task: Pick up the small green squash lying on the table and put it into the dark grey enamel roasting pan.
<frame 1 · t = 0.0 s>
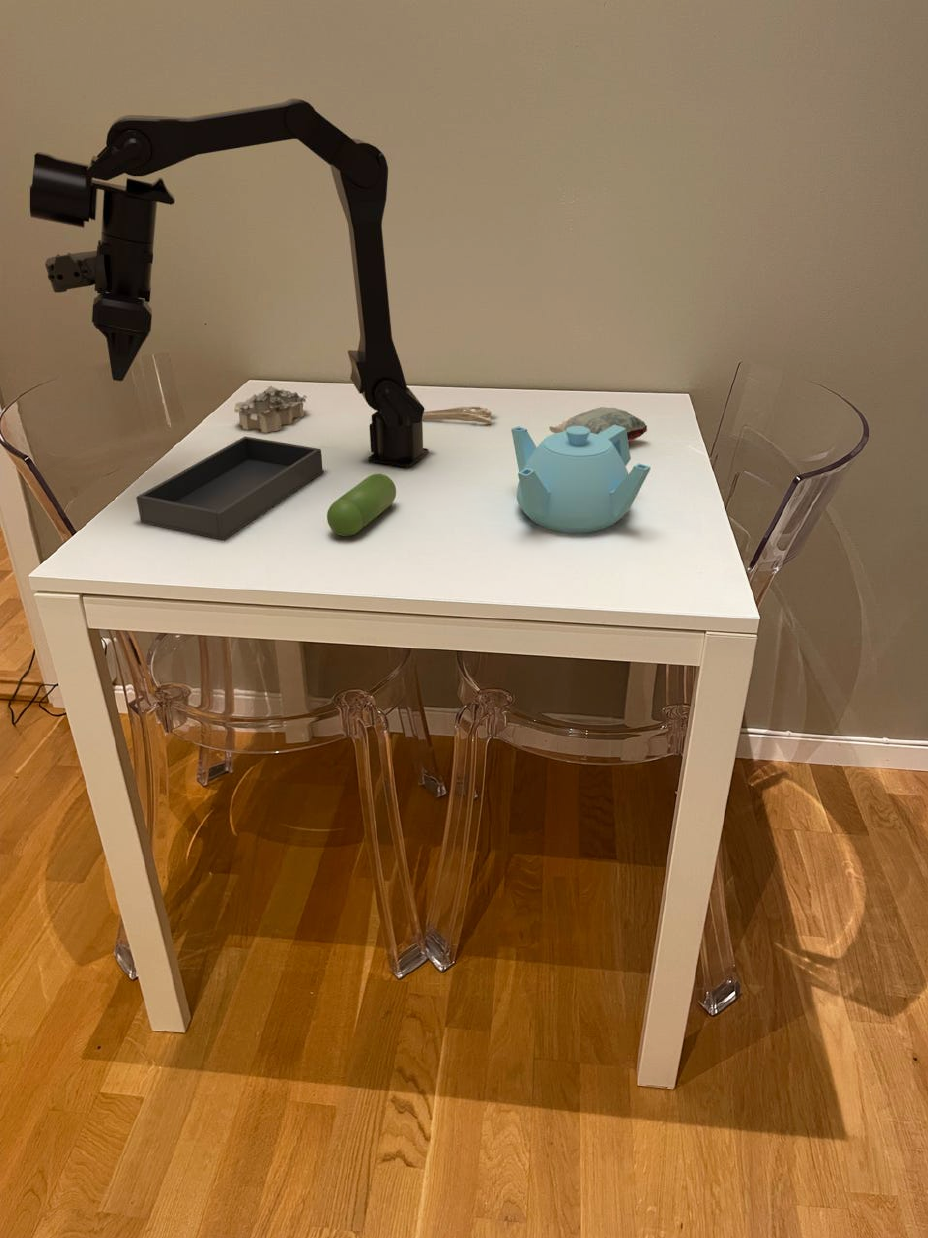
hand: (118, 369, 116), 15 cm above the table, tool pointing down, fingers open, 9 cm apart
teapot: (571, 514, 116), on the table
packaged food: (597, 444, 136), on the table
egg carton: (272, 421, 145), on the table
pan: (237, 496, 121), on the table
animal skull: (434, 421, 145), on the table
squash: (363, 520, 114), on the table
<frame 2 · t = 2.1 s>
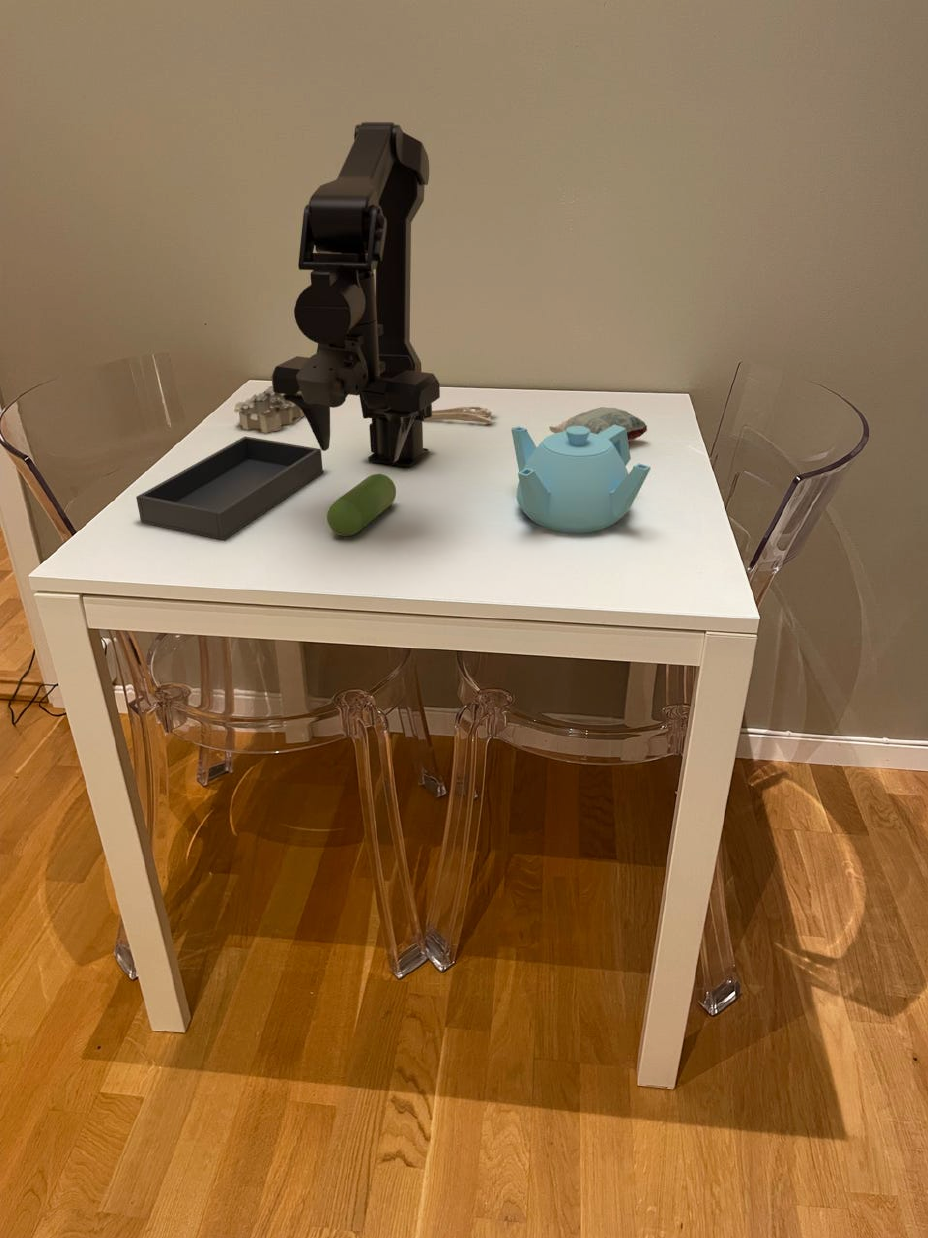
hand: (359, 455, 110), 8 cm above the table, tool pointing down, fingers open, 9 cm apart
nothing on the table moved.
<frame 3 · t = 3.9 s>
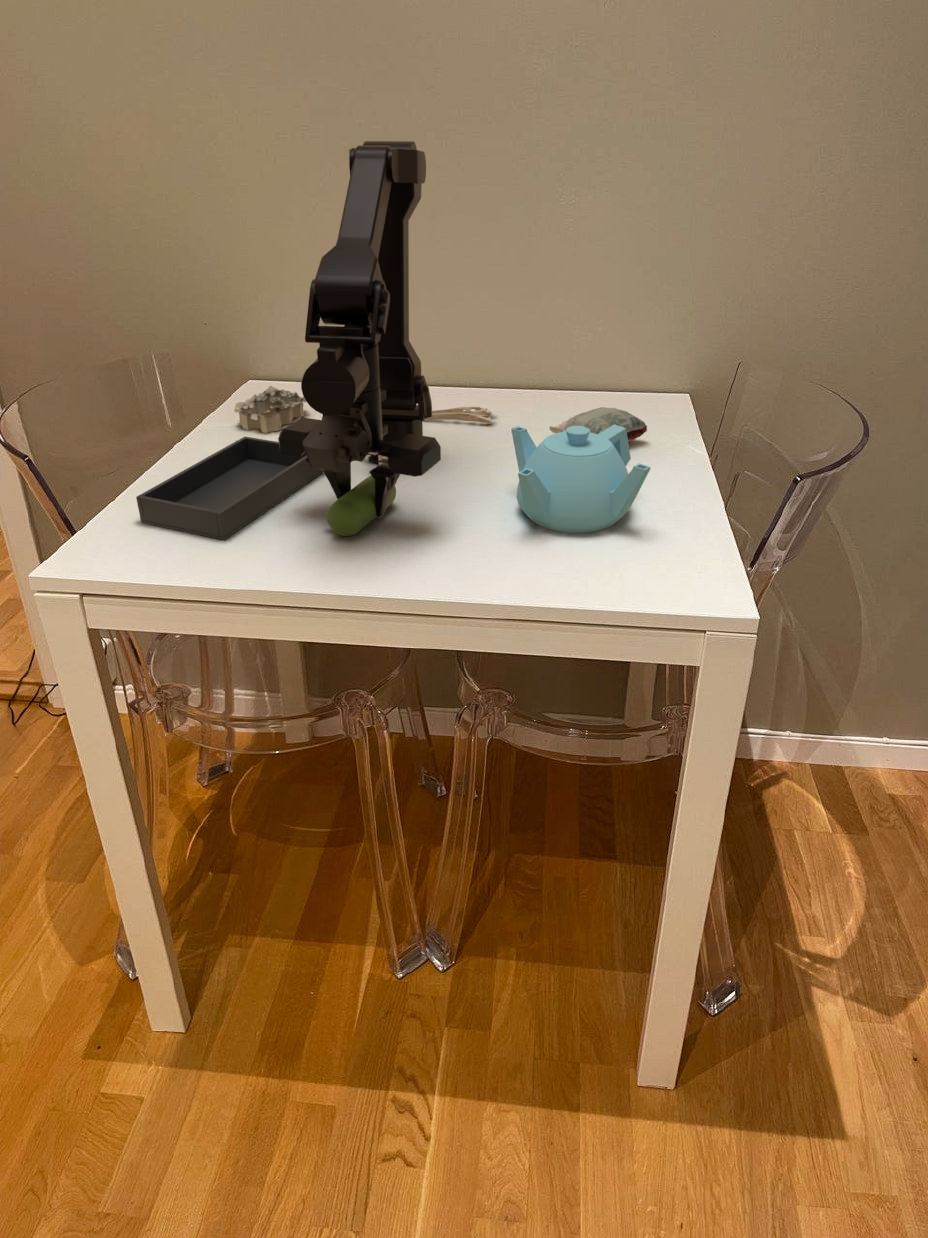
hand: (363, 512, 114), 1 cm above the table, tool pointing down, fingers closed on squash, 4 cm apart
squash: (363, 520, 114), on the table, touching gripper
everything else where it was.
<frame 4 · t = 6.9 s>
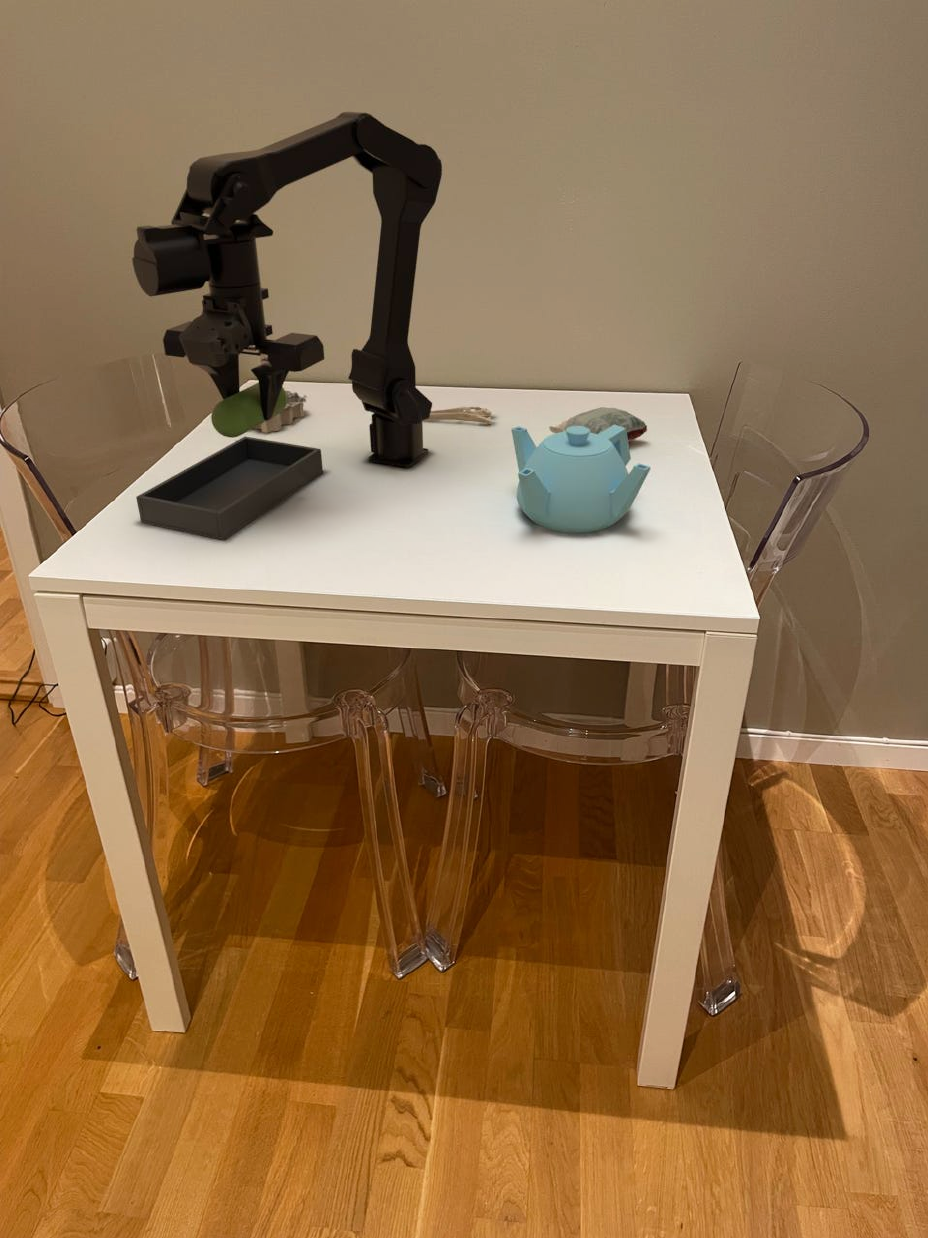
hand: (251, 417, 114), 11 cm above the table, tool pointing down, fingers closed on squash, 4 cm apart
squash: (252, 425, 114), point 10 cm above the table, touching gripper
everything else where it was.
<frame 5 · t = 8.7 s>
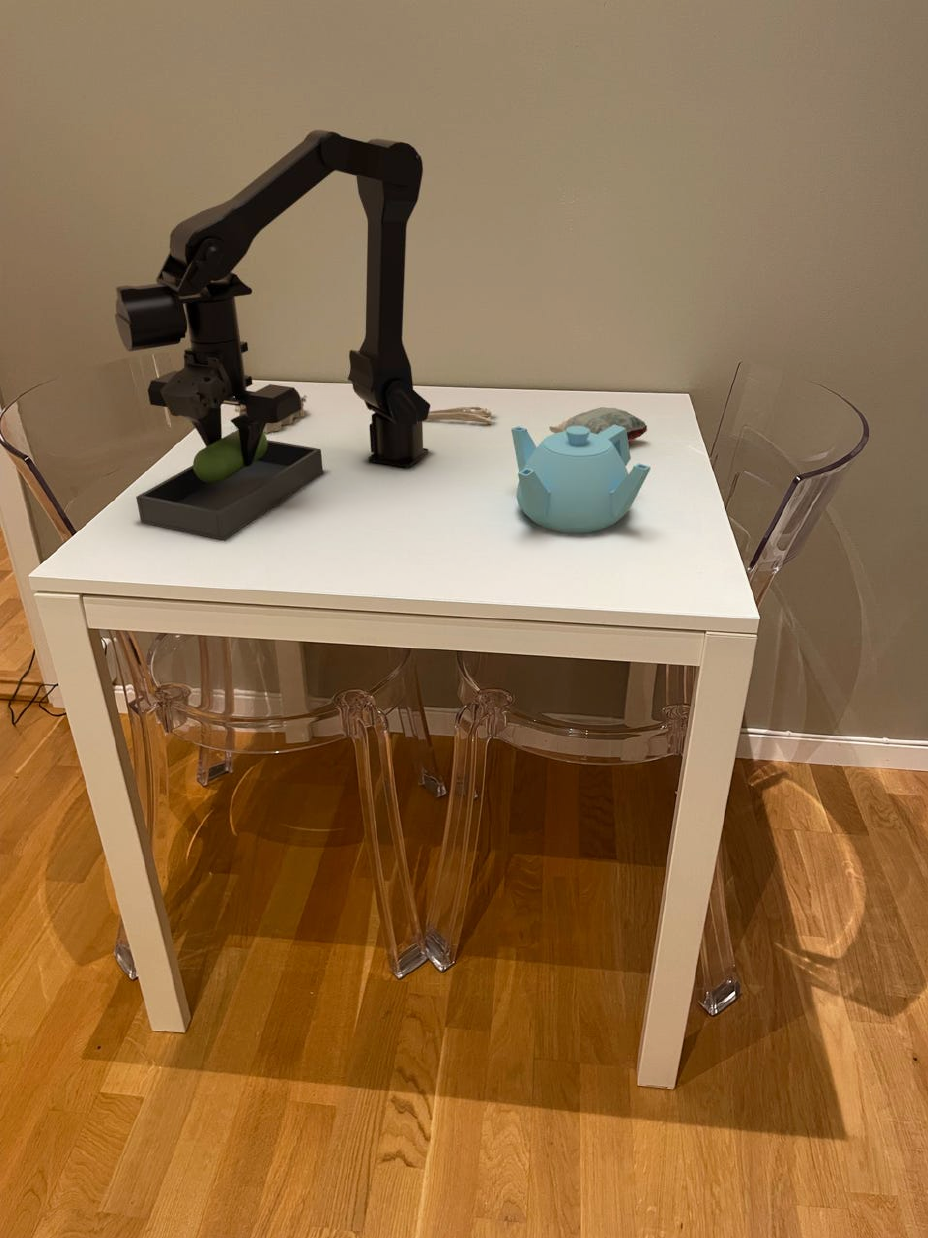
hand: (232, 462, 119), 5 cm above the table, tool pointing down, fingers closed on squash, 4 cm apart
squash: (233, 470, 119), point 4 cm above the table, touching gripper
everything else where it was.
when the fingers open (2 cm above the table, at t = 10.5 s): squash stays where it is, resting on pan.
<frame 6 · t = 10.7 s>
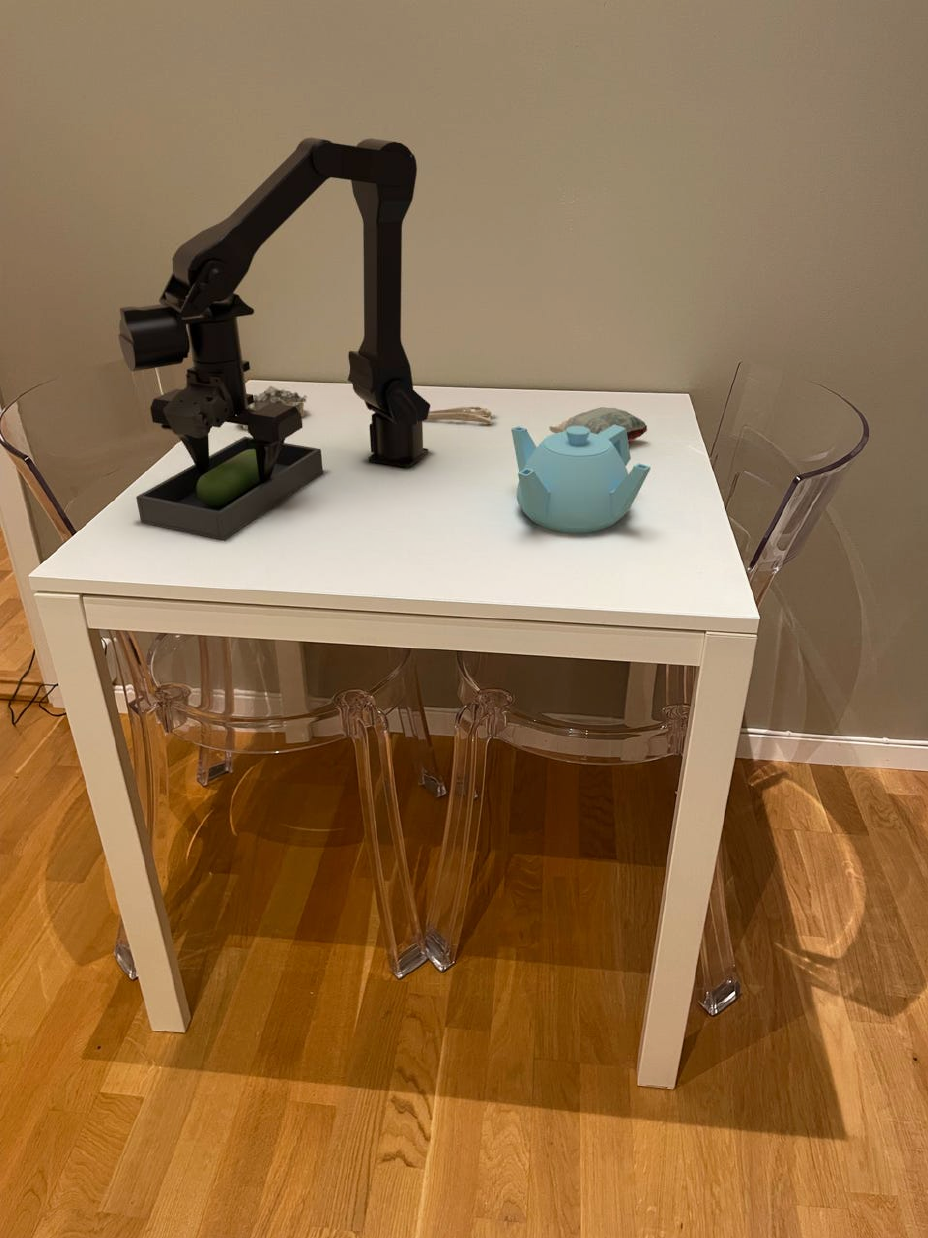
hand: (234, 479, 120), 2 cm above the table, tool pointing down, fingers open, 9 cm apart
squash: (237, 493, 121), resting on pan
everything else where it was.
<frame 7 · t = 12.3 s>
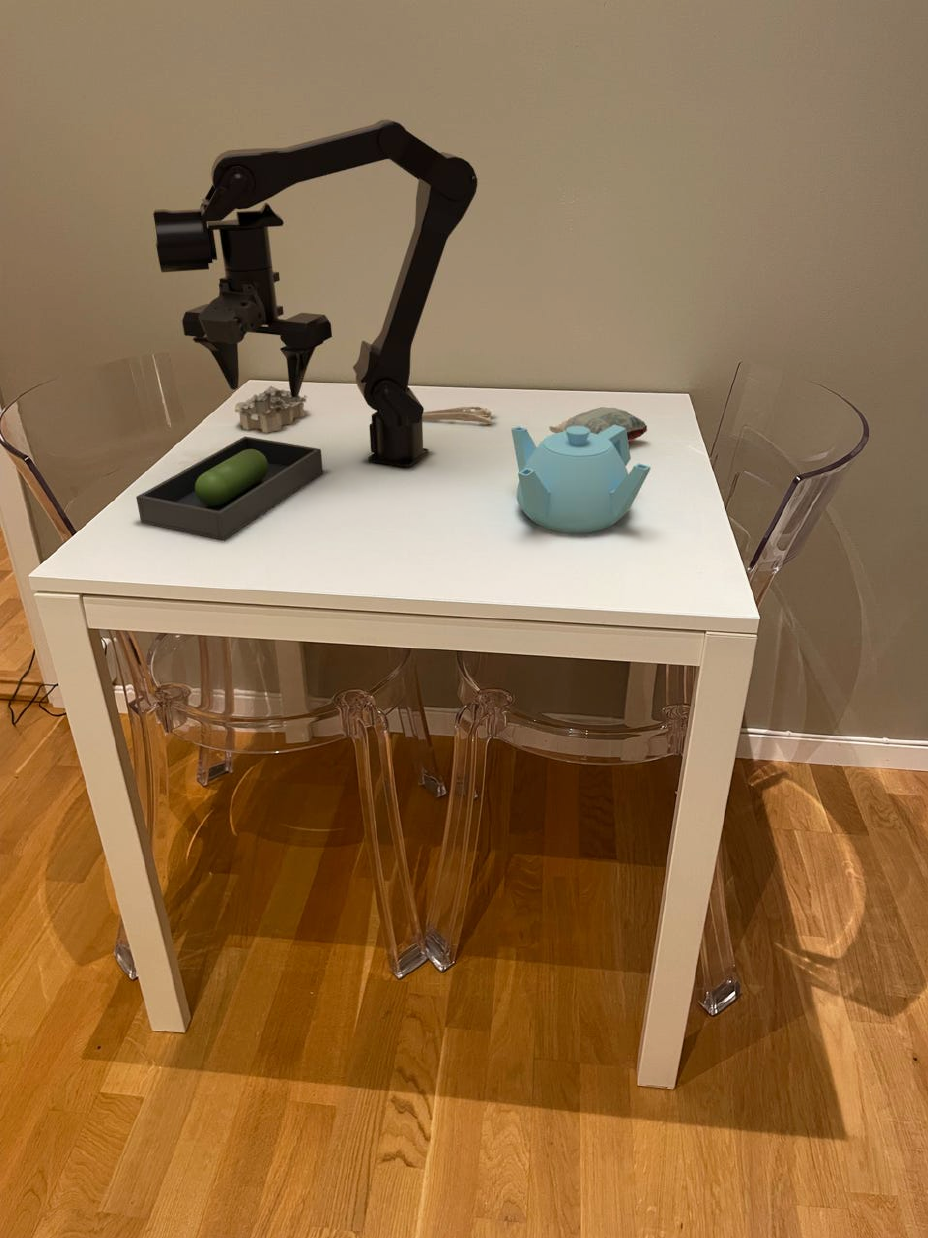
hand: (264, 392, 123), 11 cm above the table, tool pointing down, fingers open, 9 cm apart
squash: (237, 493, 121), resting on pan, tilted 8°
everything else where it was.
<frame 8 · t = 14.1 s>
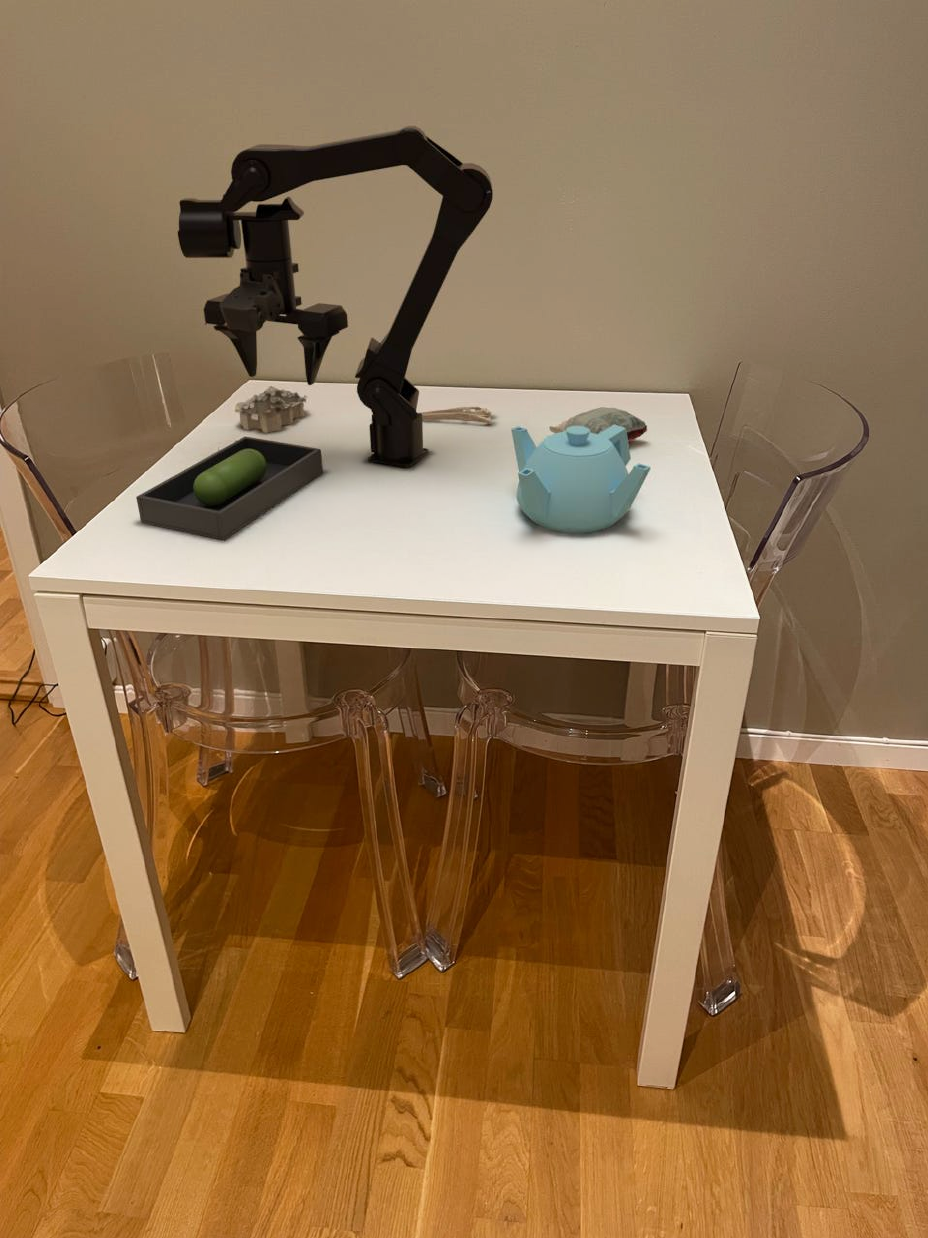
hand: (281, 380, 126), 11 cm above the table, tool pointing down, fingers open, 9 cm apart
squash: (237, 492, 121), resting on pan, tilted 15°
everything else where it was.
at the end: squash inside the target area in the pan (0.1 cm from its centre), point 0.5 cm above the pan's base; the gripper is holding nothing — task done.
